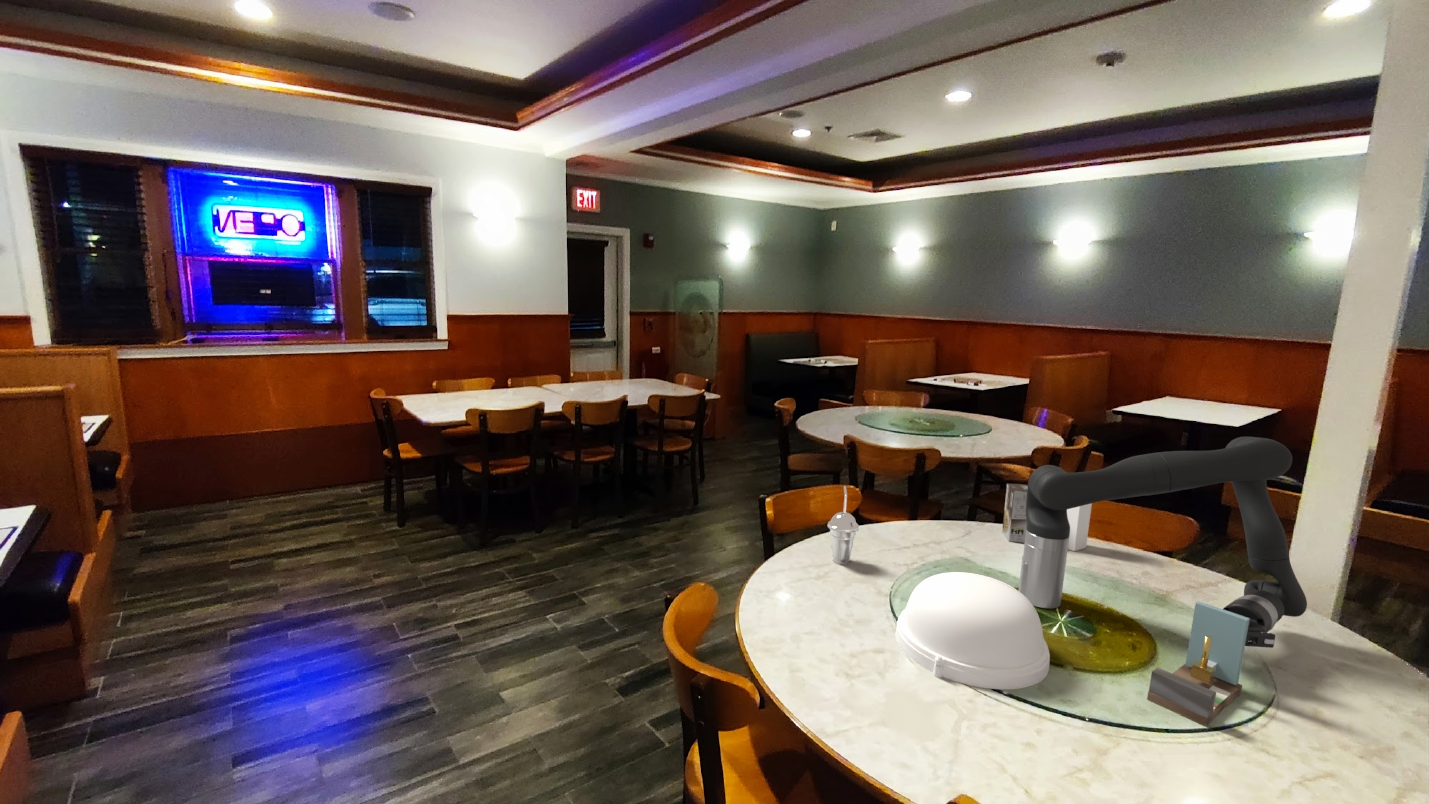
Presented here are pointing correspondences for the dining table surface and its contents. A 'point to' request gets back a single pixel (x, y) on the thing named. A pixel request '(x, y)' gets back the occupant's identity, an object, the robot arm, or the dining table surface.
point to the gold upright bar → (1203, 664)
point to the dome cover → (974, 632)
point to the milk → (1078, 526)
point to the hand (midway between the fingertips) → (1219, 640)
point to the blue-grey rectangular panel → (1218, 640)
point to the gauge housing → (1191, 694)
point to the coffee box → (1015, 513)
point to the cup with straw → (842, 534)
